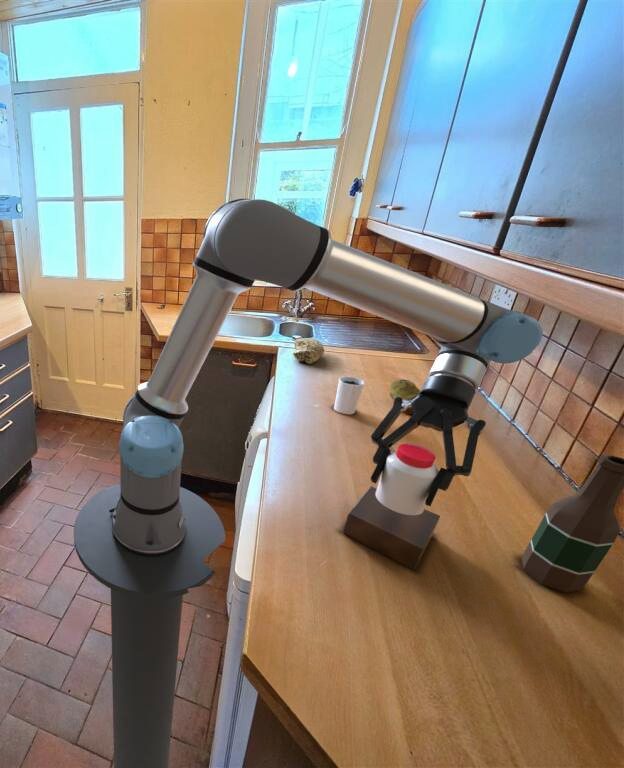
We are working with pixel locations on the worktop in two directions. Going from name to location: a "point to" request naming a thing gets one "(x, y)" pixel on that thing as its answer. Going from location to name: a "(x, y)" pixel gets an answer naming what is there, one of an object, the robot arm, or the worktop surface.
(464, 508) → the worktop surface
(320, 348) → the tan rock
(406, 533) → the walnut block
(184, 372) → the robot arm
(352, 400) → the white cup
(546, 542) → the beer bottle
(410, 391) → the avocado
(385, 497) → the pill bottle
